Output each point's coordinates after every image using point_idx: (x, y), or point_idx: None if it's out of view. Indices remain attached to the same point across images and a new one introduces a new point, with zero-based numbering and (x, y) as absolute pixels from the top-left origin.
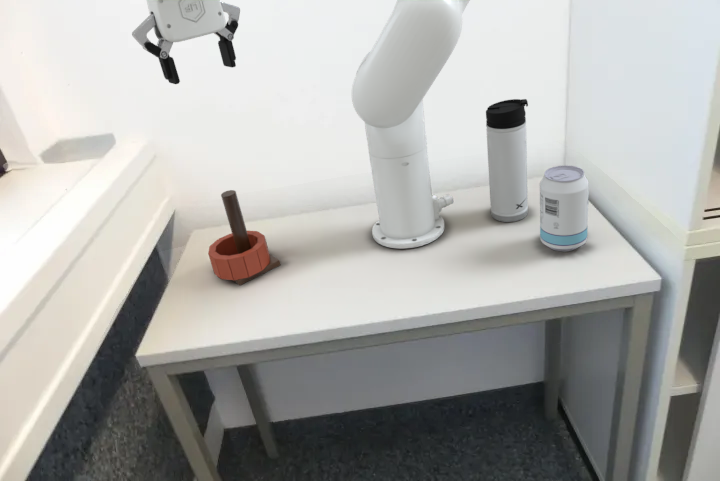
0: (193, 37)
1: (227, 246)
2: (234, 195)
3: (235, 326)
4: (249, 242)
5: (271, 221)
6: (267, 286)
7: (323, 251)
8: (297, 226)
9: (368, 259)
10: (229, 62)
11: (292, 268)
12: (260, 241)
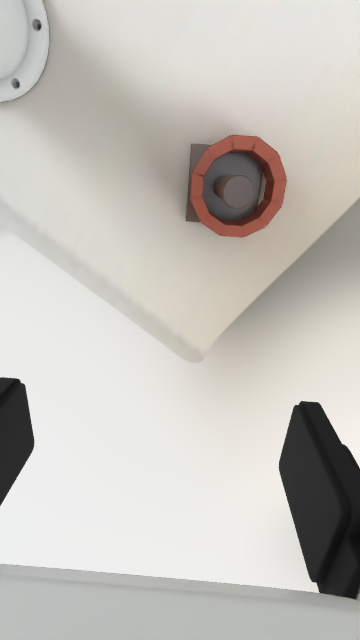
0: (181, 582)
1: (235, 223)
2: (234, 175)
3: (341, 40)
4: (219, 178)
5: (124, 281)
6: (242, 104)
7: (124, 116)
8: (106, 230)
9: (90, 11)
10: (14, 404)
11: (186, 116)
12: (209, 157)
